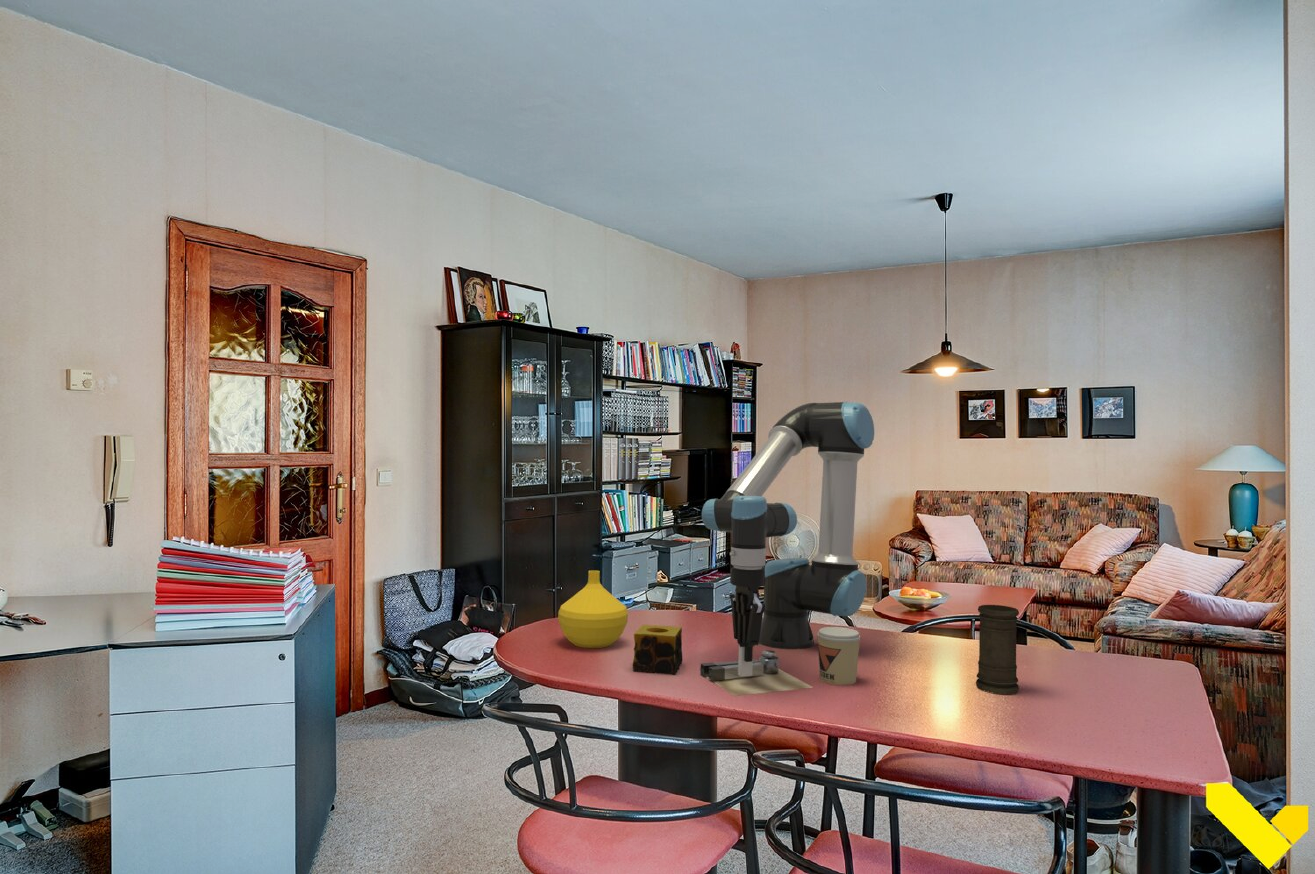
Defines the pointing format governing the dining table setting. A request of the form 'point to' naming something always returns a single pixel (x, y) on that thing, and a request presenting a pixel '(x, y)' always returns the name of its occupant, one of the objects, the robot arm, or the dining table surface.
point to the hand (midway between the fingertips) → (745, 675)
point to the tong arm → (732, 670)
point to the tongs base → (769, 663)
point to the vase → (593, 616)
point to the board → (761, 684)
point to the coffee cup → (838, 655)
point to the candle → (658, 649)
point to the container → (997, 649)
